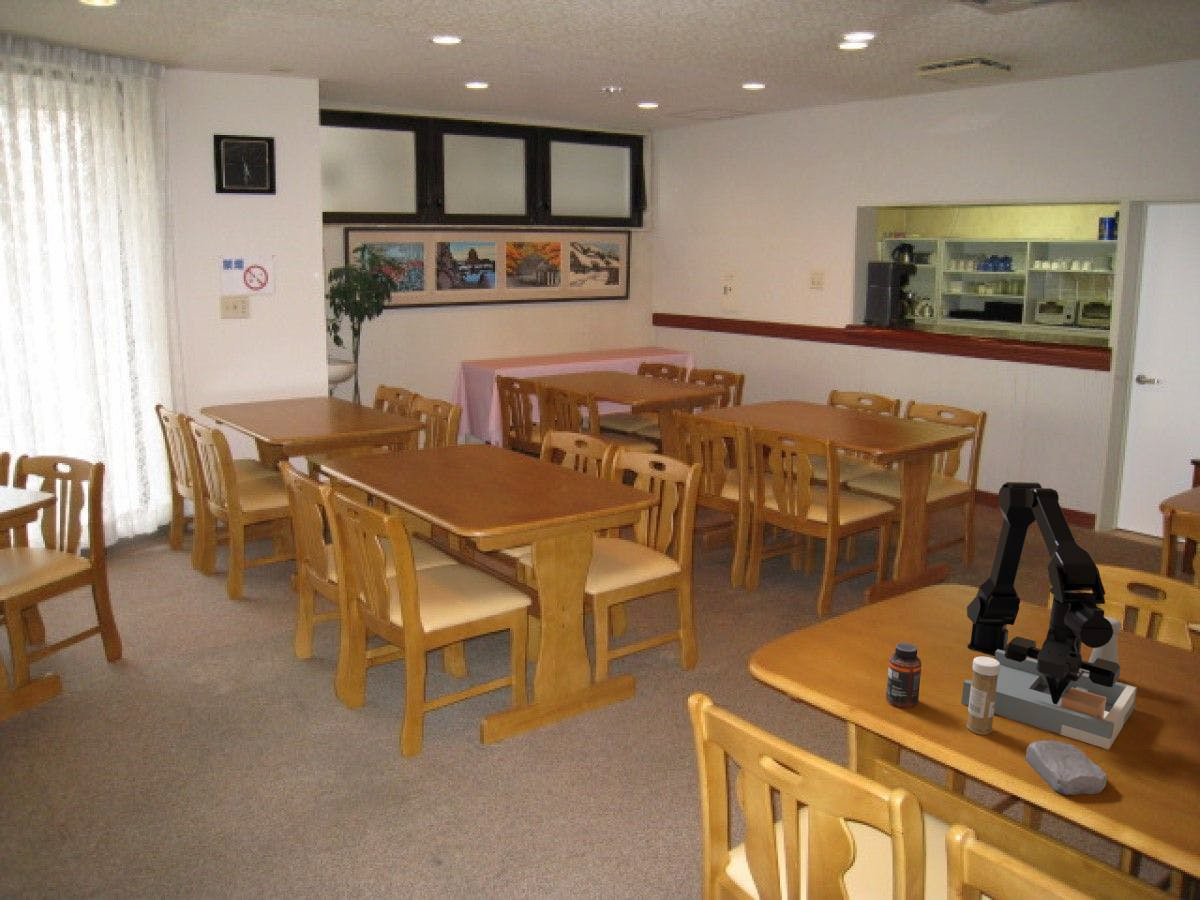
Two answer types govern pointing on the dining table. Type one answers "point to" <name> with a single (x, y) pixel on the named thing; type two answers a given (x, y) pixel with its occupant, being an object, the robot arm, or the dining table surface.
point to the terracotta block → (1084, 702)
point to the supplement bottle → (904, 676)
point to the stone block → (1065, 768)
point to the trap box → (1032, 704)
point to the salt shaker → (1108, 645)
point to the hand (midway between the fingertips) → (1055, 703)
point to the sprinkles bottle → (982, 695)
